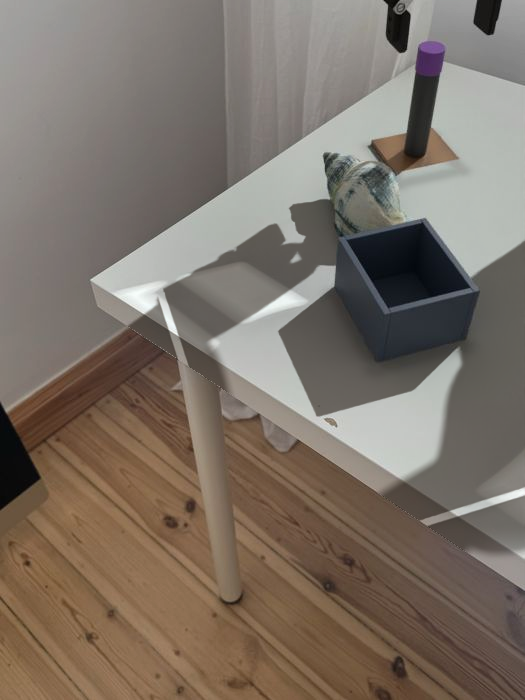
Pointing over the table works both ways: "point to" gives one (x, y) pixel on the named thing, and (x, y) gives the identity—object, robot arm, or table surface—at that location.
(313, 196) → the table surface
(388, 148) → the coaster
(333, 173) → the seashell
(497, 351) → the table surface
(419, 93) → the marker
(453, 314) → the bin
